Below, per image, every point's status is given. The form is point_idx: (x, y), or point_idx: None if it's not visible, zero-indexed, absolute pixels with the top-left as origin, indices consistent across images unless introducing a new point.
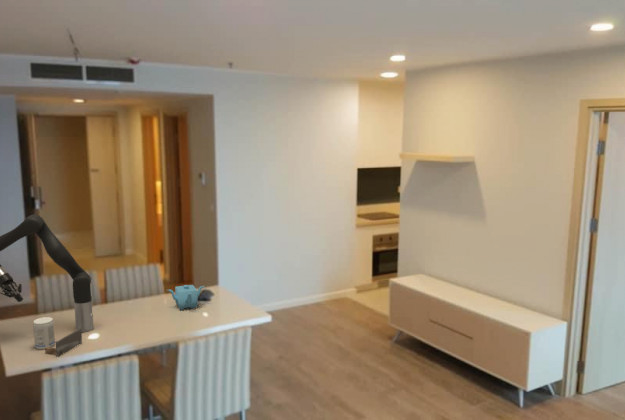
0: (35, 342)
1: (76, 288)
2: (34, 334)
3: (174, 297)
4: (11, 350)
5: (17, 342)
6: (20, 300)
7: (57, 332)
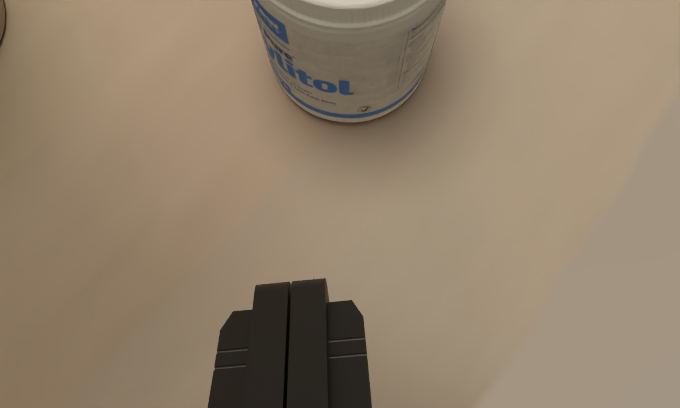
0: (430, 52)
1: None
2: (437, 24)
3: None
4: (541, 239)
5: (389, 344)
6: (327, 294)
7: (69, 192)
